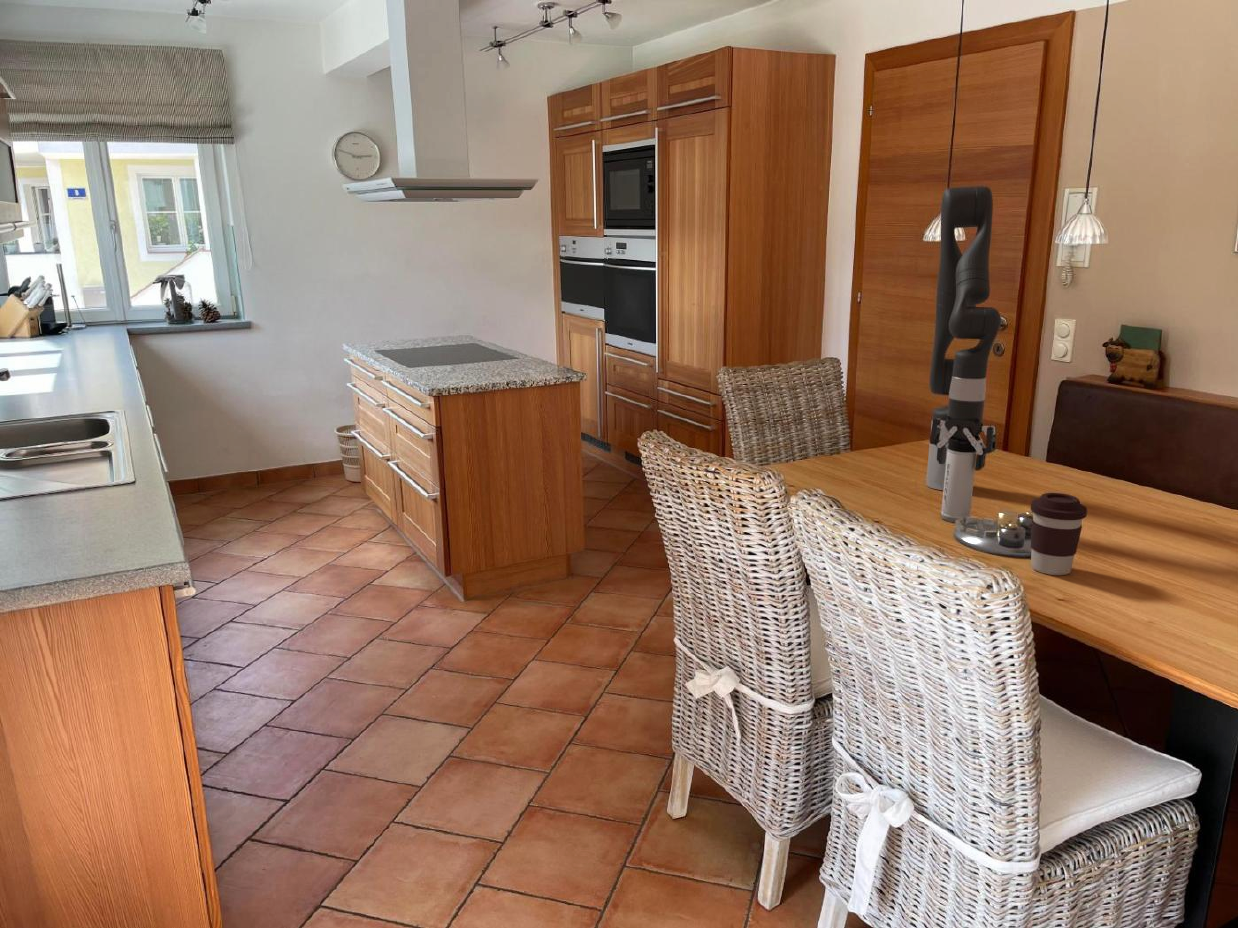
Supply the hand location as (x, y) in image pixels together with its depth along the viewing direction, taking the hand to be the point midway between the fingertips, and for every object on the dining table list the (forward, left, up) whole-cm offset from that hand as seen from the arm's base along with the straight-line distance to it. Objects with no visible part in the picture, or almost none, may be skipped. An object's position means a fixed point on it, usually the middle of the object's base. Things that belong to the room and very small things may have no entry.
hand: (959, 466), depth 206 cm
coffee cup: (+18, +27, -13) cm, 35 cm away
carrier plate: (+7, +14, -13) cm, 20 cm away
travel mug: (0, 0, -13) cm, 13 cm away
